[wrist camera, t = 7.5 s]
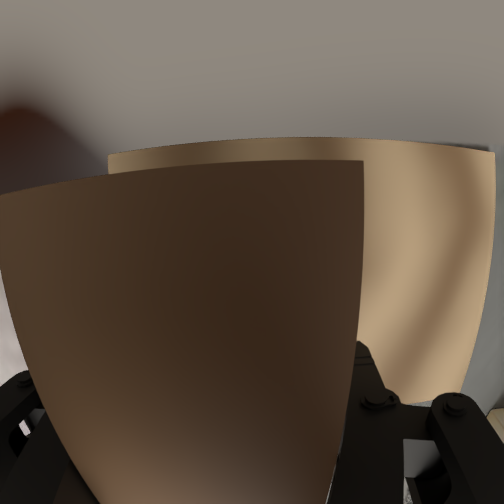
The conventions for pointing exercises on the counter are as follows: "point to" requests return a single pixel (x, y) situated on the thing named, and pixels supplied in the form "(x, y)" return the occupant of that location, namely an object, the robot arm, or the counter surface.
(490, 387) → the counter surface
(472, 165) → the light wood board
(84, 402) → the walnut slab
